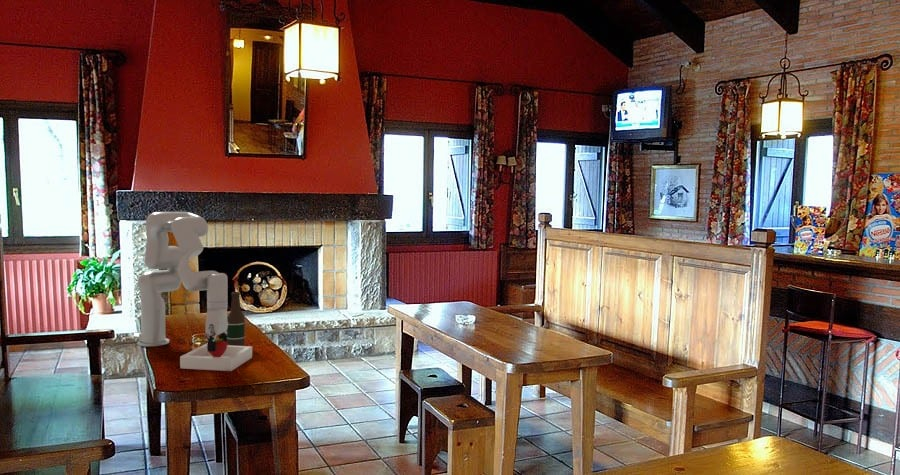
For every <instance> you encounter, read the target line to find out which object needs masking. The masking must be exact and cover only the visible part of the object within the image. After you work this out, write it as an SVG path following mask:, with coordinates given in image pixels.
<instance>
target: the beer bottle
mask: <svg viewBox="0 0 900 475" xmlns="http://www.w3.org/2000/svg"><path fill="white" fill-rule="evenodd" d="M230 296H231V301H230V302H231V303H230V306H231V308H230V312H229V313H228V314H227V322H228V330H227V333H228V334H227V345H231V346H246V345H245V344H246V319H245V315H244V313H243V311H242V310H241V300H240V296H241V292H240V291H233V292H231V295H230Z"/></svg>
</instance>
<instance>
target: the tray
mask: <svg viewBox="0 0 900 475" xmlns="http://www.w3.org/2000/svg"><path fill="white" fill-rule="evenodd" d="M252 358H253V346H249V345H248V346H246V345H245V346H231V345H227V349H226V351H225V352H224V354H223V355H222V356H221V357H213V356H212V355H211V354H210V353H209V351H207V344H206V343H205V344H202V345H201V346H199V347H196V348H195V349H192V350H191V351H189V352H187V353H185V354H182V355H180V357H179V366H180V369H187V370H205V371H221V372H222V371H223V372H224V371H225V372H232V371H234V370H235V369H237V368H238V367H240V366H241V365H243V364H245V363H246V362H248V361H249V360H250V359H252Z"/></svg>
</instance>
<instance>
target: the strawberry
mask: <svg viewBox="0 0 900 475" xmlns="http://www.w3.org/2000/svg"><path fill="white" fill-rule="evenodd" d="M215 341H216V351H215V352H213V351H209V353H210V354H211V355H212V356H213V357H221V356H222V355H223V354H224V352H225V351H226V349H227V343H226V342H225V341H222V339H219V338H216V339H215Z"/></svg>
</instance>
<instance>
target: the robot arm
mask: <svg viewBox="0 0 900 475" xmlns="http://www.w3.org/2000/svg"><path fill="white" fill-rule="evenodd" d="M145 231H146V245H145V255H144V264H145V265H144V266H145V267H146V268H148V269H149V271H145V272H143V273H142V274H140V275H139V277H138V280H137V285H138V290H139V295H140V317H141V318H140V322H141V324H140V328H141V329H140V330H141V332H140V333H139V332H137V333H135V332H134V333H133V337H132V338H133V339H138V341H137V346H139V347H144V348H145V347H146V348H147V347H151V348H152V347H159V346H165V345H168V344H169V343H170V339H169V338H167V337H166V302H165V299H164V298H163V297H162V296H161V294H160V293H165V292H166V293H167V292H174V291H177V290H178V289H179V288H180V287H181V285H183V288H185V290H187V291H188V292H192V293H193V292H200V291H206V299H207V300H206V310H207V311H206V317H205V336H206V337H205V338H206V341H207V351H213V352H215V351H216V341H215V339H217V336H218V339H222V341H225V342H226V343H227V334H228V333H227V330H228V322H227V317H228V304H229V303H228V300H229V299H228V297H229V296H228V288H229V285H228V278H229V277H228V275H227V273H225V272H218V271H216V270H202V271H201V270H200V271H192V268H191V267H190V264H189V262H190V260H192V259H194V258H195V257H197V256H199V255H200V254H202V252H203V250H204V245H203V243H202V241H201V239H200V237H204V236H206V235H207V233H208V231H209V226H208V223H207V221H206V219H205V218H204V217H202V216H200V215H198V214H196V213H195V214H194V213H192V212H189V211H157V212H152V213H150V214H149V215H148V216H147V218H146V219H145ZM168 233H172V235H173V236H174V239H175V241H176V244H177V246H176V245H169V242H170V239H169V235H168Z"/></svg>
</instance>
